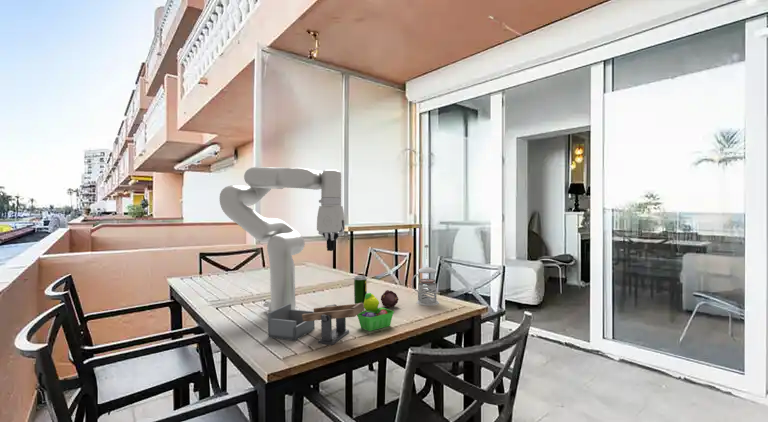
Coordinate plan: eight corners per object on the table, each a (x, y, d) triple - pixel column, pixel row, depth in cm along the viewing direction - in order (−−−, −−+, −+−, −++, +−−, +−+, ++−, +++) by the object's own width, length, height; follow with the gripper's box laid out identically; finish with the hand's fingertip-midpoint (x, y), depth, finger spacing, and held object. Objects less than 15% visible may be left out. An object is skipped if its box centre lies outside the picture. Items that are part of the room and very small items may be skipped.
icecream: (403, 295, 147) (395, 290, 162) (385, 291, 146) (379, 286, 161) (400, 312, 146) (392, 306, 161) (382, 308, 145) (376, 302, 160)
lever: (303, 321, 117) (301, 313, 117) (326, 308, 132) (325, 301, 132) (354, 316, 111) (353, 308, 112) (373, 303, 127) (372, 296, 127)
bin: (268, 337, 119) (267, 312, 119) (289, 326, 131) (289, 303, 130) (295, 340, 116) (294, 315, 116) (314, 328, 127) (314, 305, 127)
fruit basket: (367, 333, 122) (367, 299, 122) (353, 326, 129) (353, 294, 129) (395, 326, 128) (394, 293, 128) (380, 320, 136) (379, 289, 136)
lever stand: (317, 343, 113) (316, 315, 113) (336, 330, 125) (335, 305, 125) (332, 345, 111) (331, 317, 111) (349, 331, 123) (349, 306, 123)
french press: (441, 305, 155) (440, 245, 155) (413, 306, 154) (412, 246, 154) (436, 299, 165) (435, 243, 164) (410, 300, 164) (409, 243, 164)
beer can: (355, 306, 155) (354, 277, 155) (353, 303, 160) (353, 275, 160) (368, 305, 156) (367, 277, 156) (365, 302, 162) (365, 275, 162)
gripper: (309, 202, 141) (309, 250, 141) (343, 202, 135) (343, 252, 135) (319, 202, 148) (319, 248, 148) (353, 202, 142) (353, 250, 142)
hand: (331, 250), depth 142 cm, fingers closed
